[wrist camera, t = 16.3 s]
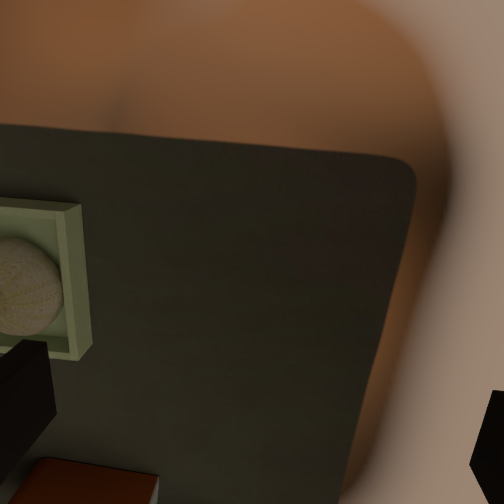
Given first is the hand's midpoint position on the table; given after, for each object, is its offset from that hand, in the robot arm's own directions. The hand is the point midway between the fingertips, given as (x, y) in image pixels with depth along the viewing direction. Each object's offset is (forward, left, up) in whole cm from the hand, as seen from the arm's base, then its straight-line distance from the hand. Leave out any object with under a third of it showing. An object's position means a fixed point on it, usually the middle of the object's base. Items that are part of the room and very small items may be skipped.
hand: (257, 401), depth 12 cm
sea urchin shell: (+24, -5, -23) cm, 34 cm away
